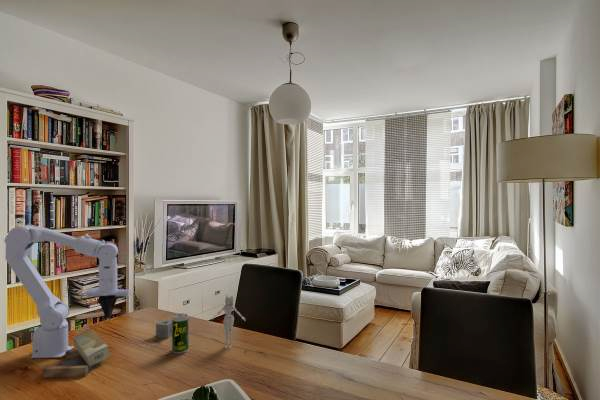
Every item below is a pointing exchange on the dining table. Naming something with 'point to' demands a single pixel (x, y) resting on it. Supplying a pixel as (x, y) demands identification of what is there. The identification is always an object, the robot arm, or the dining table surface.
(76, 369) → the u rest
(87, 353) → the skincare box
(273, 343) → the dining table surface
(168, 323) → the dice cube
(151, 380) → the dining table surface
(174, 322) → the beer can
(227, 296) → the human figurine
